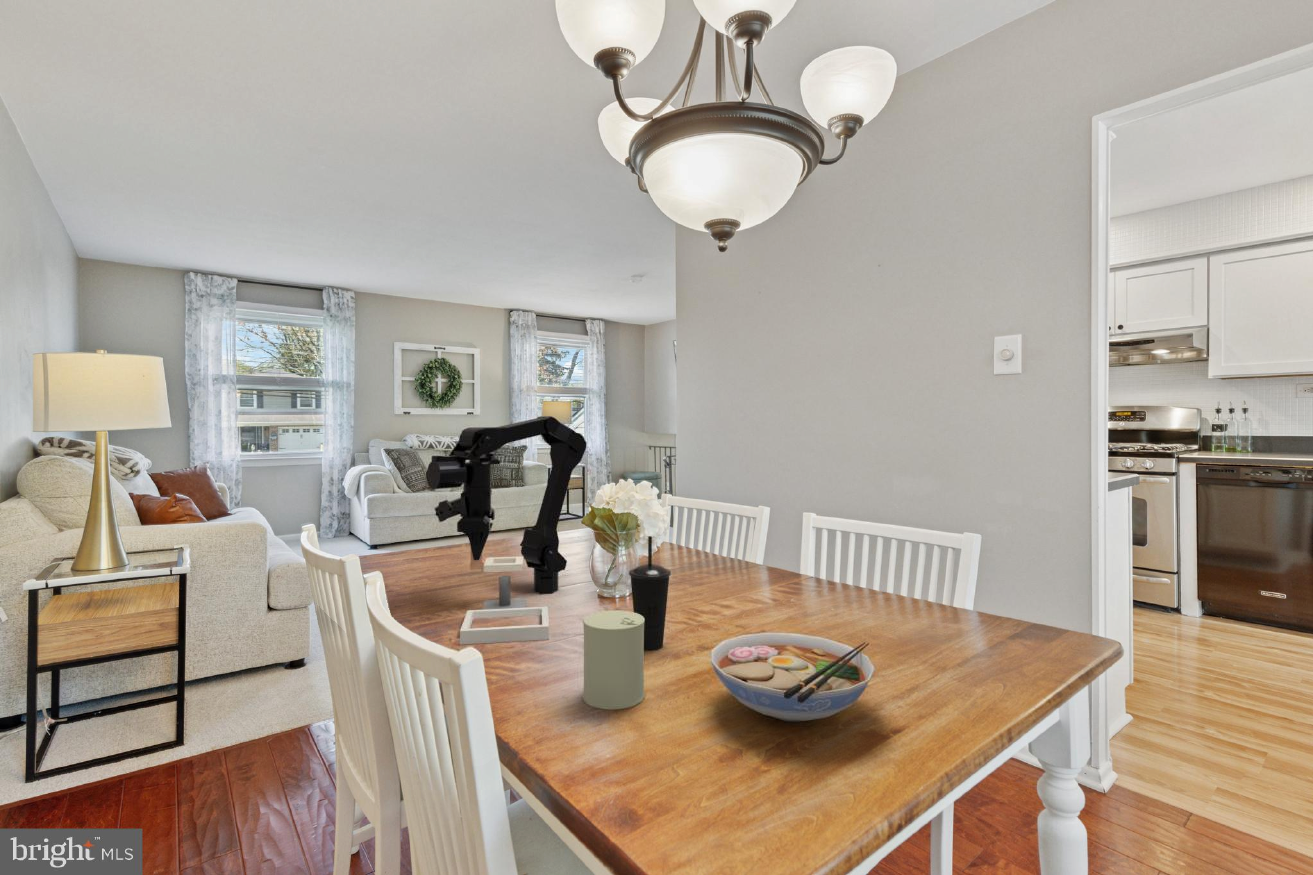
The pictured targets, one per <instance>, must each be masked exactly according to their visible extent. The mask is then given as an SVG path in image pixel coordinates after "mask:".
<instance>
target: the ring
mask: <svg viewBox="0 0 1313 875" xmlns="http://www.w3.org/2000/svg"><path fill="white" fill-rule="evenodd" d="M524 562H525V559H524V556H499V557H498V556H496V557H494V556H493V557H491V556H490V557H486V558H485V559H484V550H483V551H482V554H481V556H480V559H479V560H474V559H473V554H472V550H471V549H470V563H469V570H470V571H471V570H472V571H473V570H474V571H475V570H483V573H494V572H495V573H497V572H498V573H499V572H523V571H524Z"/></svg>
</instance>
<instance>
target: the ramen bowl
mask: <svg viewBox="0 0 1313 875" xmlns="http://www.w3.org/2000/svg"><path fill="white" fill-rule="evenodd" d="M869 644H870V643H869V642H868V643H866V641H865V642H863V643H861V644H860V645H858V646H857V647H855V648H854V647H852V646H850V645H847V644H845V643H841V642H839V641H835V640H832V639H829V638H826V637H821V636H814V635H807V634H801V633H793V632H792V633H790V632H789V633H787V632H760V633H759V632H758V633H750V634H742V635H738V636H736V637H732V638H728V639H724V640H722V641H720V643H718V644H717V645H715V646H714V648H712V649H711V651H710V664H711V665H712V669H713V671H714V673H715V674H716V676H717V677H718V679H719V680H720V682H721V684H722V685H723V686H724V687H725V688H726V689H727V690H728V691H729V693H730V694H731V695H732V696H734V698H735V699H736V700H737V701H738V702H740V703H741V704H742V705H744V706H746V707H747V708H749V709H752V710H754V711H755V712H758V713H760V714H762V715H764V716H768V717H772V718H774V719H777V720H781V721H784V722H785V721H786V722H804V721H805V722H806V721H812V720H819V719H825V718H829V717H831V716H833V715H836V714H837V713H840V712H842V711H844V710H846V709H848V708H850V707H851V706H852V705H853V704H855V702H857V701H858V699H859V698H860V697H861V695H863V692H865V690H866V688H867V687H868V684H869V682H870V681H871V679H872V676H873V674H874V672H875V670H876V667H875V666H874V664H873V662H872V661H871V659H870V657H869V656H868V655H866V654H864V653H863V652H862V651H864V649H865V648H866V647H867V646H869Z"/></svg>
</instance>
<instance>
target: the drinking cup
mask: <svg viewBox="0 0 1313 875" xmlns="http://www.w3.org/2000/svg"><path fill="white" fill-rule="evenodd" d="M647 536H648V537H647V541H648V542H647V544H648V546H647V563H646V564H640V565H638V566H636V567H633V568H631V569H630V570H629V571H628V575H629V577H630V584H631V585H630V586H631V598H632V609H633V612H634V613H637V614H640V615H642V616H643V617H644V619H645V622H644V651H656V650H660V649H661V648H663V647H664V646H663V645H664V637H665V627H666V615H667V606H668V604H667V603H668V596H669V584H670V583H669V581H670V576H671V574H672V572H671V570H670V569H669V568H665V567H664V566H661V565H659V564H656V563H655V564H653V561H652V560H653V558H652V557H653V536H652V535H651V536H649V535H647Z"/></svg>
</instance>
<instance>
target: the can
mask: <svg viewBox="0 0 1313 875" xmlns="http://www.w3.org/2000/svg"><path fill="white" fill-rule="evenodd" d="M644 622H645V619H644V617H643V616H642V615H640V614H637V613H634V611H629V610H628V611H627V610H620V609H619V610H602V611H597V612H593V613H590V614H588V615H586V616H585V617H584V618H583V619H582V624H583V691H582V692H583V693H582V700H583V702H584V703H585V704H587V705H588V706H590V707H593V708H595V709H599V710H600V709H601V710H606V711H607V710H609V711H610V710H611V711H612V710H614V711H616V710H618V711H619V710H624V709H628V708H632V707H635V706H637V705H638V704H640V703H642V702H643V700H644V699H645V696H646V695H645V694H646V693H645V689H644V688H645V685H644V684H645V683H644V682H645V680H644V664H645V663H644V662H645V661H644V660H645V658H644V653H645V652H644V651H645V650H644Z"/></svg>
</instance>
